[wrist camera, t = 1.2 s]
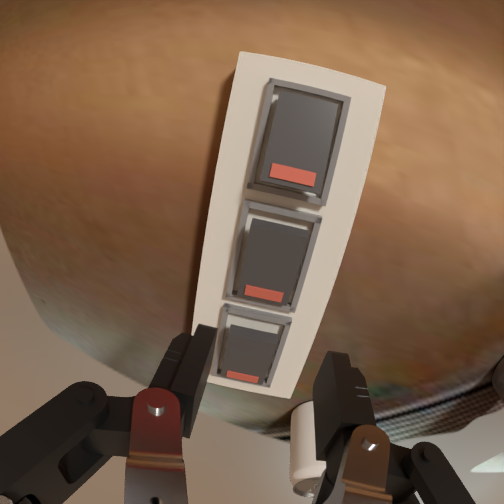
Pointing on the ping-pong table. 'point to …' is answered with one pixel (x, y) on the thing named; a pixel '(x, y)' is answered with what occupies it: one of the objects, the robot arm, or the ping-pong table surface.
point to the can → (304, 452)
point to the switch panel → (281, 210)
